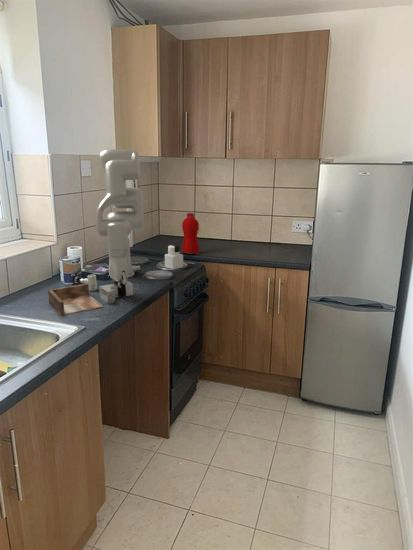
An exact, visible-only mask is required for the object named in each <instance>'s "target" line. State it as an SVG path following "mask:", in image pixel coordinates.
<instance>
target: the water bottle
mask: <svg viewBox="0 0 413 550" xmlns="http://www.w3.org/2000/svg"><path fill="white" fill-rule="evenodd" d="M181 227H182V228H181V229H182V233H183V241H182V247H181V248H182V249H181V252H182V251H183V252H185V253H198V254H199V253H200V245H199V242H198V234H200V231H199V230H200V228H199V227H200V224H199V220H198V219H196V218H195V214H194V213H191V212H187V213H186V218H185V219H183V220H182V224H181Z"/></svg>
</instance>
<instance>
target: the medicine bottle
mask: <svg viewBox="0 0 413 550" xmlns="http://www.w3.org/2000/svg"><path fill="white" fill-rule="evenodd" d="M180 250H181V249H180V246H179V245H178V244H170V245H168V246H167V253H165V254H164V267H165V268H167V269H170V270H177V269H181V268H183V267H184V255H183V253H182V254H181V253H180Z"/></svg>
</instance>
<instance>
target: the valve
mask: <svg viewBox="0 0 413 550" xmlns="http://www.w3.org/2000/svg"><path fill="white" fill-rule="evenodd" d="M70 283H72V284H71V286H76V285H83V284H88V285H89V292H90V291H91V292H95V291H97V290H98V286H97V285H98V280H97V275H96V274H88V275H87V277H86V278H83V276H82V273H81V272H80V273H78V272H74V275H73V274H72V275H71V280H70Z"/></svg>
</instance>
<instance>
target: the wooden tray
mask: <svg viewBox="0 0 413 550" xmlns="http://www.w3.org/2000/svg"><path fill="white" fill-rule="evenodd" d="M62 301H63V302H64V313H65V314H64V315H70V314H71V315H72V314H77V313H80V312H86V311H87V312H88V311H91V310H96V309H102V308H104V306H103V305H102V304H101V303H100V302H99V301H97V300H96V298H94V297H93V296H91V295H90V294H89V295H86V296H80V297H74V298H68V299H62ZM49 303H50V304H51V302H49ZM52 307H53V308H54V306H53V305H52ZM64 315H63V316H64Z"/></svg>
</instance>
